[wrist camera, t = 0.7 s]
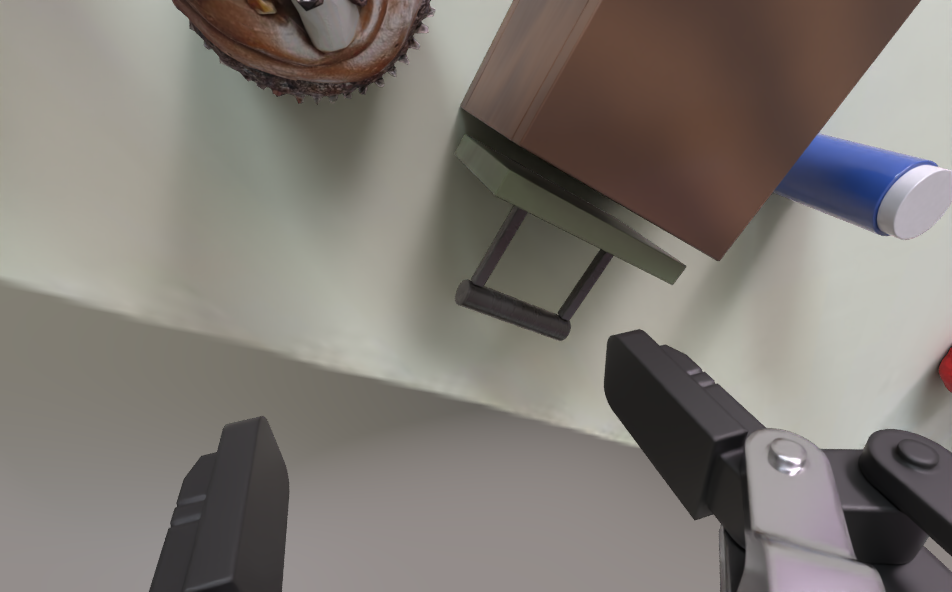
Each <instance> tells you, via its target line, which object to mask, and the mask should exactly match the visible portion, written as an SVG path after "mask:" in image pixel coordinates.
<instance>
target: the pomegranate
mask: <svg viewBox="0 0 952 592" xmlns="http://www.w3.org/2000/svg"><path fill="white" fill-rule="evenodd" d="M939 374H940V377H941V379H942V381H943V382H944V384H945V386H946V388H947V389H948V390H949V391H950V392H952V347H951V348H950V350H949V352H948V354H947V355H946V356H945V357H944V358H943V360H942V362H941V364H940V366H939Z"/></svg>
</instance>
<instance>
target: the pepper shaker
mask: <svg viewBox="0 0 952 592" xmlns="http://www.w3.org/2000/svg"><path fill="white" fill-rule="evenodd" d="M773 193H775V194H778V195H780V196H783V197H785V198H788V199H790V200H793V201H795V202H798V203H800V204H803V205H805V206H808V207H810V208H813V209H815V210H818V211H820V212H823V213H825V214H828V215H830V216H833V217H835V218H838V219H840V220H843V221H846V222H848V223H851V224H853V225H856V226H858V227H861V228H863V229H866V230H868V231H871V232H873V233H876V234H878V235H881V236H894V237H896V238H899V239H904V240H907V239H912V238H915V237H917V236H919V235H921V234H923V233H924V232H926V231H927V230H929V229H930V228H931V227H932V226H933V225H934V224H935V223H936V222H937V221H938V220H939V219H940V218H941V217H942V216H943V215H944V213H945V212H946V210H947V209H948V207H949V206H950V204H951V202H952V171H951V170H949V169H945V168H941V167H938V165H937V164H936V163H934V162H933V161H930V160H926V159H922V158H918V157H914V156H910V155H905V154H901V153H897V152H893V151H889V150H885V149H881V148H877V147H873V146H869V145H865V144H861V143H857V142H852V141H848V140H844V139H840V138H836V137H832V136H828V135H824V134H820V133H818V134H817V136H816V137H815V138H814V139H813V141H812V142H811V143H810V145H809V146H808V147H807V148H806V150H805V151H804V152H803V154H802V155H801V156H800V158H799V159H798V160H797V161H796V163H795V164H794V165H793V167H792V168H791V169H790V170H789V172H788V173H787V174H786V176H785V177H784V178H783V180H782V181H781V182H780V183H779V185H778V186H777V187H776V189H775V190H774V191H773Z"/></svg>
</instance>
